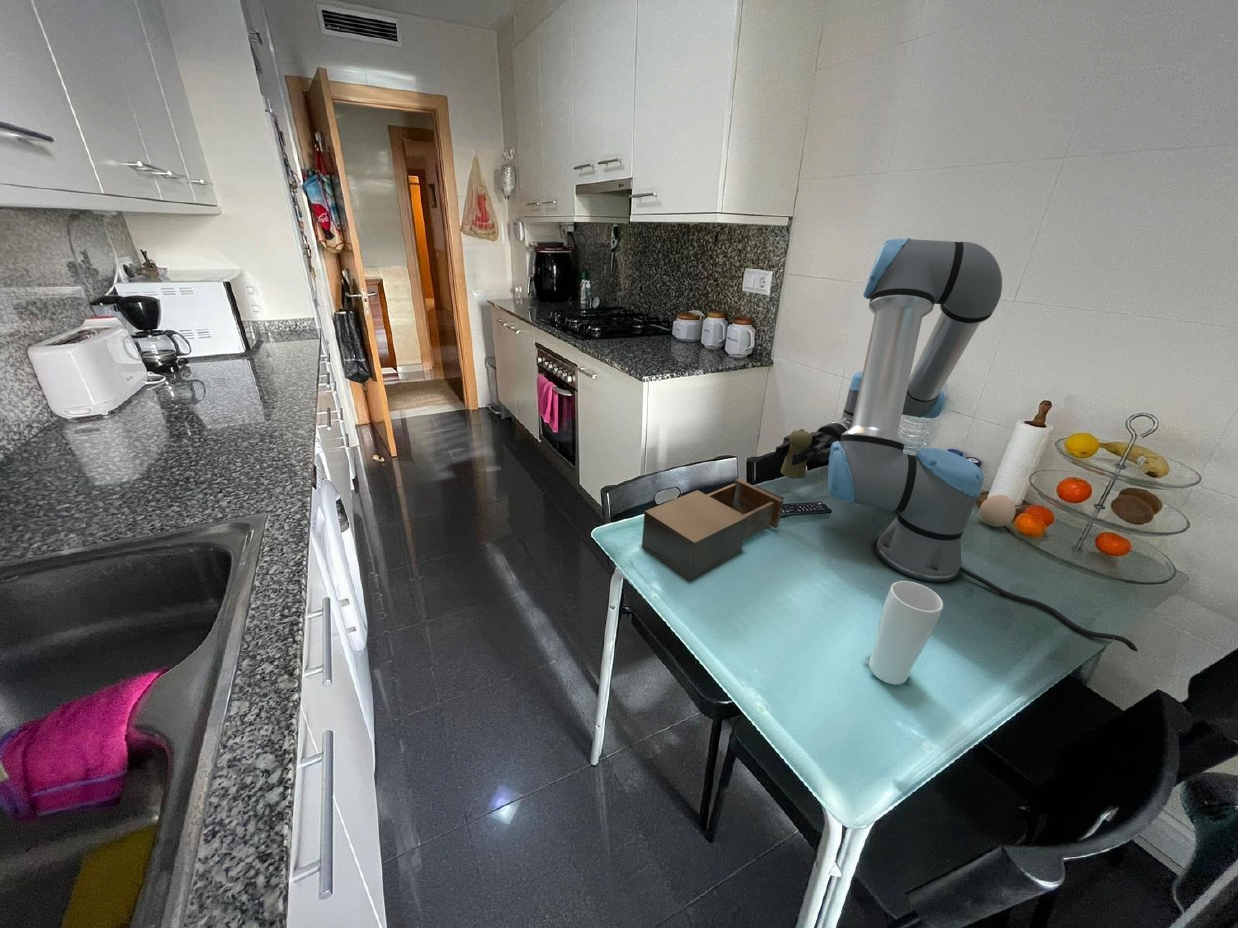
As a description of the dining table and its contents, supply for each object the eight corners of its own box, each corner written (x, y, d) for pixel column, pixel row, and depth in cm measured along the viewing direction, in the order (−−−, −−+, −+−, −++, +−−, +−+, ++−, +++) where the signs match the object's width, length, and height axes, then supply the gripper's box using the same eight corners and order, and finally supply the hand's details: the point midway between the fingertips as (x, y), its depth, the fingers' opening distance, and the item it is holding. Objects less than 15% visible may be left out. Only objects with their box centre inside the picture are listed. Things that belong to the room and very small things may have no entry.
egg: (977, 514, 122) (989, 486, 119) (1010, 525, 118) (1023, 496, 115) (971, 524, 118) (983, 495, 115) (1005, 536, 114) (1018, 506, 110)
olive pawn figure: (807, 480, 121) (817, 438, 116) (781, 476, 122) (790, 435, 117) (804, 469, 126) (813, 429, 122) (779, 466, 127) (787, 426, 123)
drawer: (746, 498, 123) (750, 473, 120) (790, 520, 114) (796, 494, 111) (692, 522, 111) (696, 495, 108) (736, 548, 103) (742, 520, 100)
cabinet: (693, 523, 113) (697, 489, 109) (741, 552, 103) (748, 516, 100) (641, 546, 103) (644, 511, 100) (689, 580, 94) (694, 543, 90)
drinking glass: (856, 671, 76) (883, 594, 70) (871, 648, 81) (898, 573, 74) (904, 698, 72) (937, 619, 66) (917, 672, 77) (949, 595, 70)
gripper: (810, 413, 137) (758, 430, 123) (871, 433, 125) (821, 454, 111) (804, 438, 140) (753, 457, 126) (863, 460, 128) (814, 484, 114)
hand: (785, 456), depth 119 cm, fingers closed on olive pawn figure, 4 cm apart
